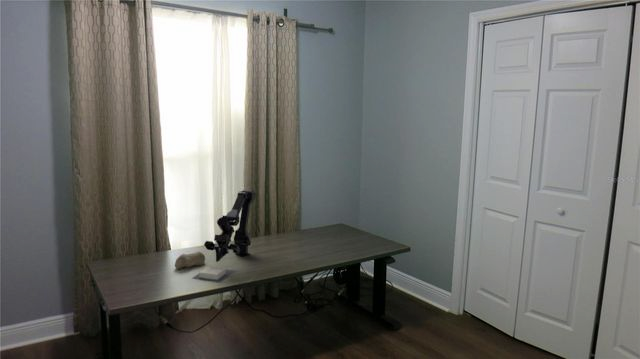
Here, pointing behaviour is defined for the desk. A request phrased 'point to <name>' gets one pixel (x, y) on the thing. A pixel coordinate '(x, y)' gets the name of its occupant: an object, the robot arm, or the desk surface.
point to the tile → (212, 273)
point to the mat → (228, 273)
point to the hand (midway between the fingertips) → (217, 261)
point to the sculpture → (189, 260)
